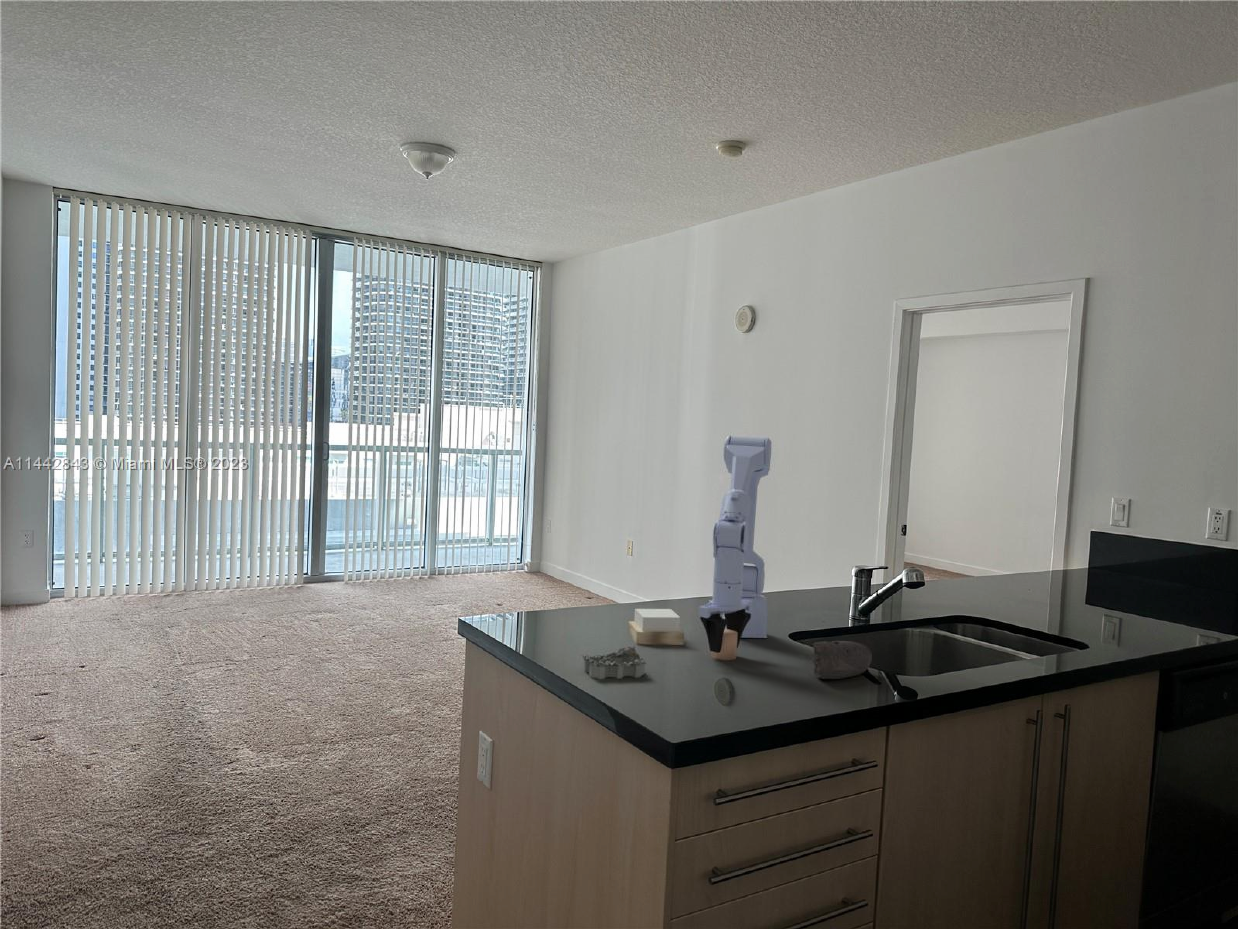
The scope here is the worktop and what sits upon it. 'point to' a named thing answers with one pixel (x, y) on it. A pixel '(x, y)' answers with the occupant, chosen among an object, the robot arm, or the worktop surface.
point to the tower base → (654, 636)
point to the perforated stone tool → (840, 659)
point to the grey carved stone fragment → (615, 664)
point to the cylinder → (727, 646)
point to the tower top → (657, 620)
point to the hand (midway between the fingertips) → (723, 649)
